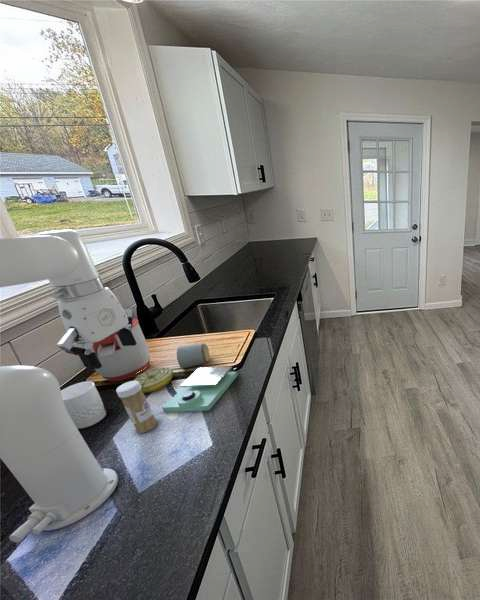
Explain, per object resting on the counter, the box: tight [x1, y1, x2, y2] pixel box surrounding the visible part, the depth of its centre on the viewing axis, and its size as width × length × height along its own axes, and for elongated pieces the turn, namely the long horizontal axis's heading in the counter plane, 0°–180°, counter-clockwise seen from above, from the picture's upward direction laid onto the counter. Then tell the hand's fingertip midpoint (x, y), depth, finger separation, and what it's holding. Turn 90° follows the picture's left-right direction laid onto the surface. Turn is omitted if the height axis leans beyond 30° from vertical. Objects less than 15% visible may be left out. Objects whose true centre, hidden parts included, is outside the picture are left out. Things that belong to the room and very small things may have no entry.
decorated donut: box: [133, 367, 174, 394], centre depth 99 cm, size 10×11×4 cm
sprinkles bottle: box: [115, 380, 158, 434], centre depth 80 cm, size 5×5×14 cm
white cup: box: [60, 380, 107, 430], centre depth 84 cm, size 8×8×10 cm
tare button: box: [183, 391, 195, 401], centre depth 88 cm, size 3×3×1 cm
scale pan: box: [180, 366, 233, 388], centre depth 97 cm, size 9×11×1 cm
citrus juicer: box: [83, 317, 151, 382], centre depth 103 cm, size 16×17×20 cm
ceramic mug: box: [176, 342, 210, 369], centre depth 110 cm, size 11×8×8 cm
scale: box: [162, 371, 238, 413], centre depth 94 cm, size 16×13×3 cm
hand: (113, 356), depth 74 cm, fingers open, 9 cm apart
